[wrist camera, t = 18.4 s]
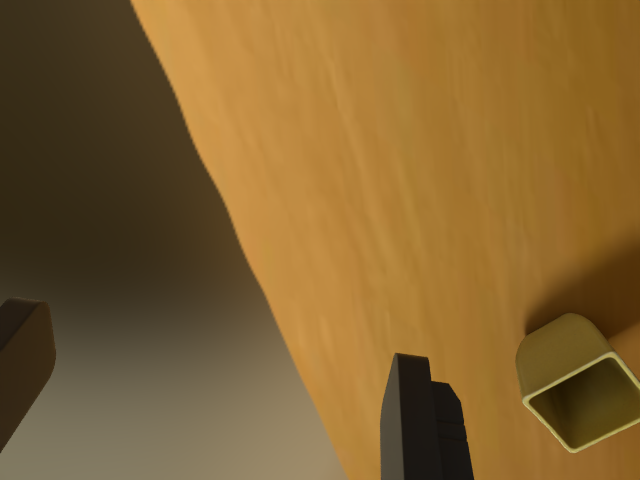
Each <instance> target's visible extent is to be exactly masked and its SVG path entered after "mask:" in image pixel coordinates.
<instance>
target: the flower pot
mask: <svg viewBox="0 0 640 480" xmlns="http://www.w3.org/2000/svg"><path fill="white" fill-rule="evenodd" d="M515 363H516V371H517V377H518V382H519V387H520V392H521V397H522V402H523V404H524V405H525V406H526V407H527V408H528V409H529V410H530V411H531V412H532V413H533V414H534V415H535V416H536V417H537V418H538V419H539V420H540V421H541V422H542V423H543V424H544V425H545V426H546V427H547V428H548V429H549V430H550V431H551V432H552V434H553V435H554V436H555V437H556V438H557V439H558V440H559V441H560V443H561V444H562V445H563V446H564V447H565V448H566V449H567V450H568V451H569V452H571V453H576V452H578V451H581V450H583V449H585V448H587V447H589V446H591V445H593V444H595V443H597V442H599V441H601V440H603V439H605V438H607V437H609V436H611V435H613V434H615V433H617V432H619V431H621V430H624V429H626V428H628V427H630V426H632V425H634V424H636V423H638V422H640V381H639V380H638V378H637V377H636V376H635V375H634V373H633V372H632V371H631V370H630V369H629V367H628V366H627V365H626V364H625V363H624V361H623V360H622V359H621V357H620V356H619V355H618V354H617V352H616V351H615V350H614V348H613V347H612V346H611V345H610V344H609V342H608V341H607V340H606V338H605V337H604V336H603V335H602V333H601V332H600V331H599V330H598V329H597V327H596V326H595V325H594V324H593V323H592V322H591V321H590V320H588V319H587V318H585V317H583V316H581V315H578V314H574V313H566V314H564V315H562V316H560V317H559V318H557V319H555V320H553V321H552V322H550V323H548V324H547V325H545V326H543V327H541V328H540V329H538V330H536V331H534V332H533V333H531V334H529V335H527V336H526V337H525V338H524V339H523V341H522V342H521V344H520V346H519V348H518V351H517V354H516V361H515Z"/></svg>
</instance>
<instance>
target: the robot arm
mask: <svg viewBox="0 0 640 480" xmlns="http://www.w3.org/2000/svg"><path fill="white" fill-rule="evenodd" d="M55 360H56V349H55V343H54V336H53V329H52V322H51V315H50V309H49V306H48V304H47V303H46V302H44V301H37V300H30V299H23V298H16V297H11V298H9V299H7V300H6V301H5V302H4V303H3V305H2V306H1V307H0V453H1V451H2V450H3V448H4V447H5V445H6V444H7V442H8V441H9V439H10V438H11V436H12V435H13V433H14V432H15V430H16V428H17V427H18V426H19V424H20V423H21V421H22V419H23V418H24V416H25V415H26V413H27V412H28V410H29V409H30V407H31V406H32V404H33V403H34V401H35V400H36V398H37V397H38V395H39V394H40V392H41V391H42V389H43V388H44V386H45V384H46V383H47V381H48V380H49V378H50V376H51V374H52V372H53V369H54V365H55ZM380 450H381V480H474V476H473V470H472V464H471V459H470V453H469V447H468V442H467V435H466V430H465V425H464V418H463V412H462V407H461V402H460V400H459V399H458V397H457V396H456V394H455V393H454V391H453V389H452V388H451V386H450V385H449V383H442V382H435V381H431V374H430V366H429V360H428V358H427V357H422V356H415V355H408V354H401V353H395V355H394V358H393V362H392V366H391V370H390V374H389V378H388V382H387V386H386V390H385V394H384V398H383V403H382V410H381V420H380Z"/></svg>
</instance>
